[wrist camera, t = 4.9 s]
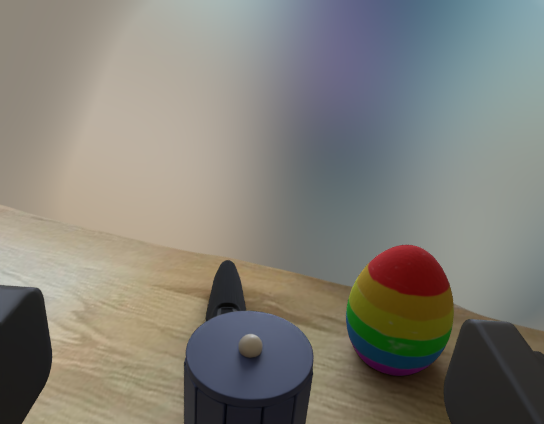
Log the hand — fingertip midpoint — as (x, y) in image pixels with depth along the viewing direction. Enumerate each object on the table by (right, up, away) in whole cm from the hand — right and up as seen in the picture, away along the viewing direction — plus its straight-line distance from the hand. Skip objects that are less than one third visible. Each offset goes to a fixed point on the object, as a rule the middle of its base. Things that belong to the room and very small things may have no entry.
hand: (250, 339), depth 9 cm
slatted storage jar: (-2, -13, +18) cm, 23 cm away
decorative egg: (+10, -9, +30) cm, 33 cm away
